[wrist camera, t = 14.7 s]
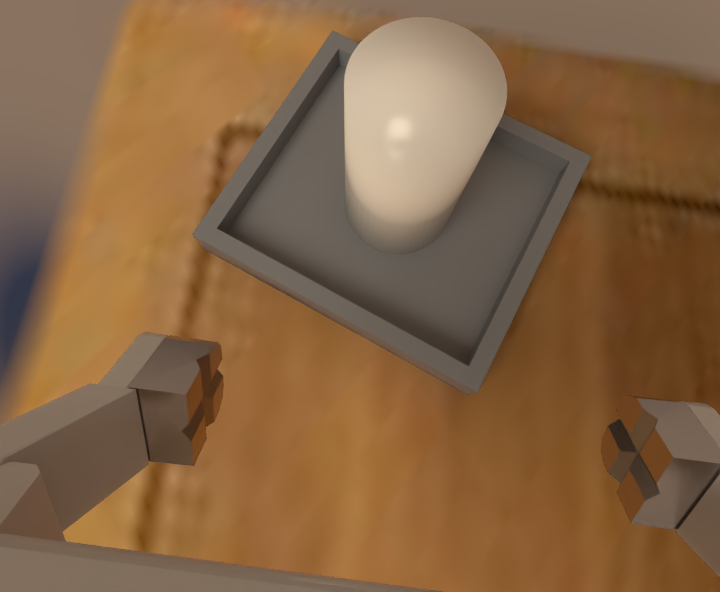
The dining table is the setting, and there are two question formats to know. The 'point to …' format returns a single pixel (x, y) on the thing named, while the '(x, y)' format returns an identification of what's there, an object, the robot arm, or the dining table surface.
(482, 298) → the serving tray
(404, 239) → the cream capsule shape
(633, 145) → the dining table surface
